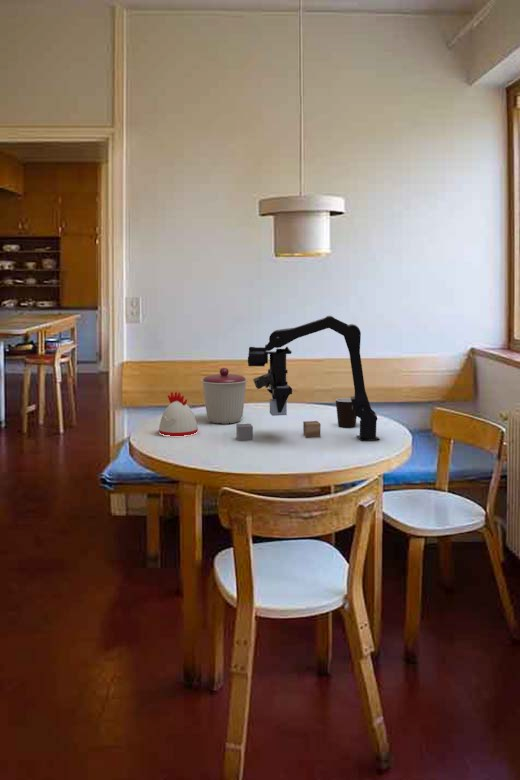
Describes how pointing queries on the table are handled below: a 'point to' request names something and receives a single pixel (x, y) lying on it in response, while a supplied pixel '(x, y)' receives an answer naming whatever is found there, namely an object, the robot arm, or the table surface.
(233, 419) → the canister
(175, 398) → the kitchen timer
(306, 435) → the walnut block
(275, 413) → the slate blue block
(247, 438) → the charcoal block
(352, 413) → the coffee mug
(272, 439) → the table surface
